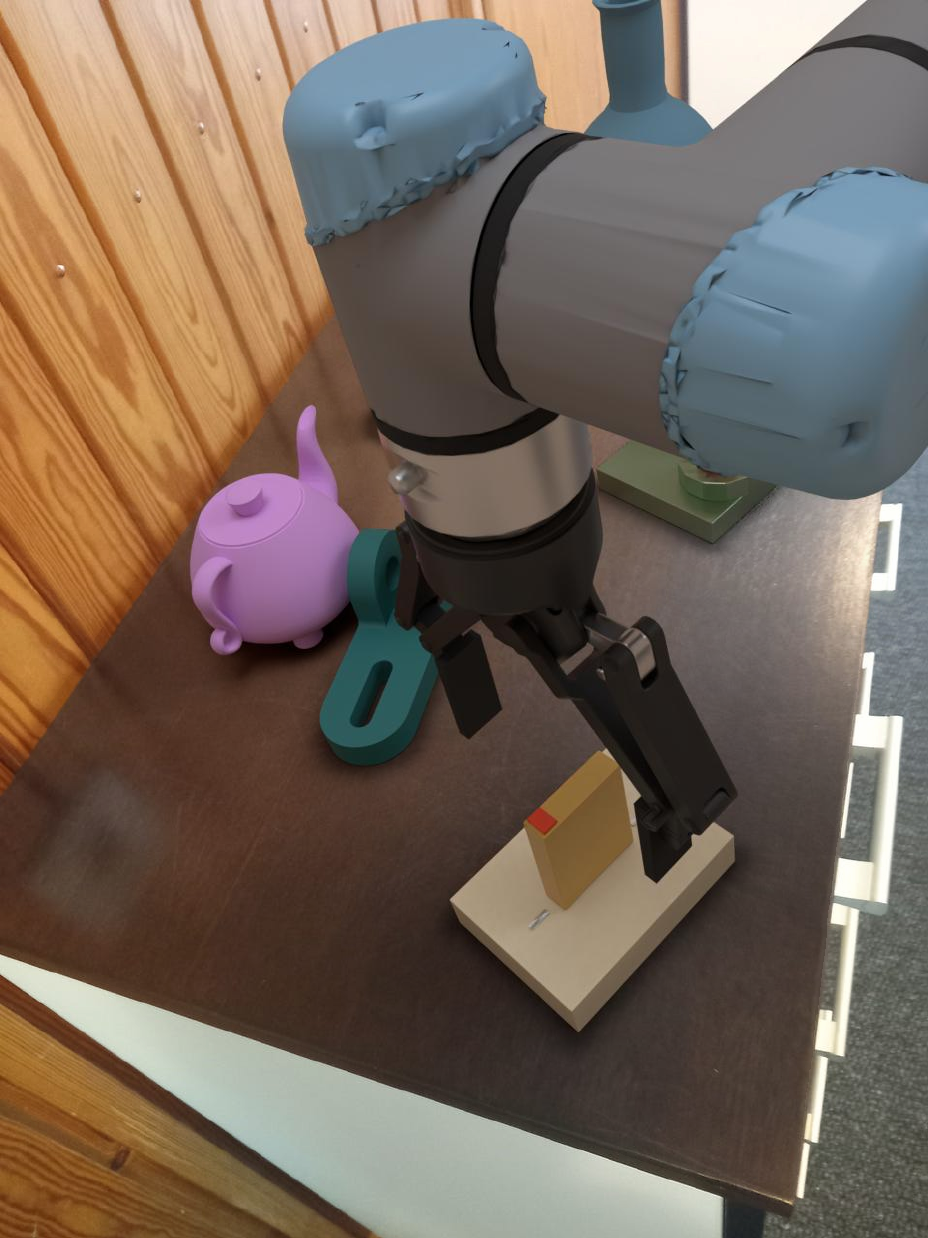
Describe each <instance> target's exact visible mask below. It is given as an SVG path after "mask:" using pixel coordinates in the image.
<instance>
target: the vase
mask: <svg viewBox="0 0 928 1238" xmlns="http://www.w3.org/2000/svg"><path fill="white" fill-rule="evenodd" d="M591 3H592V5H593V6H594V8H596V10H597V11H598V12H599V22H600V23H599V24H600V35H601V44H602V52H603V62H604V69H605V74H606V75H605V76H606V82H607V88H608V96H609V98H608V103H607V105H606V106H605V108H604V109H603V111H601V113H599V114H598V115H597V116H596V117H595V119H593V121H592V122H591V123H590V124H589V125H588V126H587V128H586V129H585V130H584V132H583V133H584V134H587V135H589V136H597V137H603V138H614V139H622V140H629V141H636V142H644V143H651V144H658V145H666V146H673V147H682V146H688V145H691V144H694V143H697V142H699V141H700V140H701V139H702V138H704V137H705V136H706V135H707V134H708V133H709V132H711V131H712V130H713V129H714V128H713V127H712V126H711V124H709V122H708V120H706V118H705V117H704V116H702V115H701V113H699V112H698V111H697V110H696V109H695V108H693V106H691V105H690V104H688V103H687V102H685V101H684V100H682V99H680V98H678V97H675V96H673V95H671V93H669V92H668V88H667V85H666V67H665V66H666V62H665V61H666V59H665V58H666V57H665V56H666V55H665V37H664V36H665V35H664V20H663V19H664V18H663V8H662V0H591Z"/></svg>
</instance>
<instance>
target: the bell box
mask: <svg viewBox="0 0 928 1238" xmlns="http://www.w3.org/2000/svg"><path fill="white" fill-rule="evenodd" d="M596 476H597V483H598V488H599V489H600V490H601V491H604V492H605V493H608V494H609V495H611V496H613V497H617V498H618V499H620V500H621V501H624V502H626V503H628V504H630V505H632V506H635V507H637V508H639V509H640V510H642V511H645V512H647V513H648V514H651V515H652V516H655V517H657V518H659V519H661V520H663V521H665V522H667V523H669V524H671V525H673V526H676V527H678V528H680V529H681V530H683V531H686V532H688V533H690V534H691V535H694V536H696V537H698V538H700V539H702V540H705V541H706V542H709V543H711V544H715V542H717V541H718V540H720V539H721V537H722V536H723V535H725V534H726V533H727V532H728V531H729V530H730V529H731V528H732V527H733V526H735V525H736V524H737V523H738V522H739V521H740V520H741V519H742V518H744V516H745V515H746V514H748V513H749V512H750V511H751V510H752V509H753V508H754V507H755V506H756V505H758V504H759V503H760V502H761V501H762V500H763V499H764V498H765V497H766V496H767V495H769V494H770V493H771V492H772V491H773V490H774V489H775V488H776V487H778V485H776V484H772V483H768V482H764V481H760V480H757V479H753V478H749V477H745V476H741V475H740V476H735V477H734V478H732V477H730V476H720V475H718V474H710V473H707V472H705V471H703V470H702V469H701V468H700V467H699V466H696V465H692V463H691V462H690V461H689V460H687V459H684V458H681V457H678V456H675V455H673V454H670V453H667V452H664V451H661V450H659V449H656V448H653V447H650V446H647V445H645V444H642V443H639V442H636V441H633V440H631V439H630V441H629V442H627V443H626V444H625V445H624V446H622V447H621V448H620V449H619V450H617V451H616V452H615V453H614V454H612V455H611V456H610V457H609V458H608V459H606V460H605V461H604V462H603V463H602V464H600V465H599V466H598V467H597V468H596Z"/></svg>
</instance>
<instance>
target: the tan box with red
mask: <svg viewBox="0 0 928 1238" xmlns="http://www.w3.org/2000/svg"><path fill="white" fill-rule="evenodd" d="M602 752H603V751H601V750H600V749H598V750H597V751H596V752H595V753H593V755H591V756H590V757H589V759H587V761H585V762H584V764H582V765H581V767H579V768H578V769H577V770H576V771H575V772H574V773H573V774H572V775H571V776H570V777H569V778H568V779H567V780H566V781H565V782H564V783H563V784H561V785H560V786H559V787H558V788H557V790H555V792H553V793H552V794H550V796H549V797H548V798H547V799H546V800H545V801H544V802H543V803H542V804H541V805H540V806H539V807H538V808H536V809H535V810H534V811H533V813H531V815H530V816H528V817H527V818H526V819H525V820H524V821H523V822H522V823H523V828H524V827H525V830H526V833H527V836H528V840H529V843H530V846H531V849H532V852H533V855H534V858H535V862H536V865H537V868H538V871H539V874H540V877H541V880H542V884H543V887H544V890H545V893H546V895H547V896H548V897H549V898H551V899H552V900H553V901H554V902H555V903H557V904H558V905H559V906H560V907H561V908H562V909H564V910H567V909H568V908H569V907H570V905H571V904H572V903H573V902H574V901H575V900H576V899H577V898H578V897H579V896H580V895H581V894H582V893H583V892H584V891H585V890H586V889H587V888H588V887H589V886H590V885H591V884H592V883H593V882H594V881H595V880H596V879H597V878H598V877H599V876H600V875H601V874H602V873H603V872H604V871H605V870H606V868H607V867H608V866H609V865H610V864H611V863H612V862H613V861H614V860H615V859H616V858H617V857H618V856H619V855H620V854H621V853H622V852H623V851H624V850H625V849H626V848H627V847H628V846H629V845H630V844H631V843H632V842H633V834H632V828H631V823H630V817H629V812H628V806H627V800H626V795H625V789H624V783H623V778H622V772H621V768H620V766H619V765H618V764H617V762H615V761H614V760H613V759H611V758H610V757H608V756H607V755H605V754H604V753H602Z"/></svg>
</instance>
